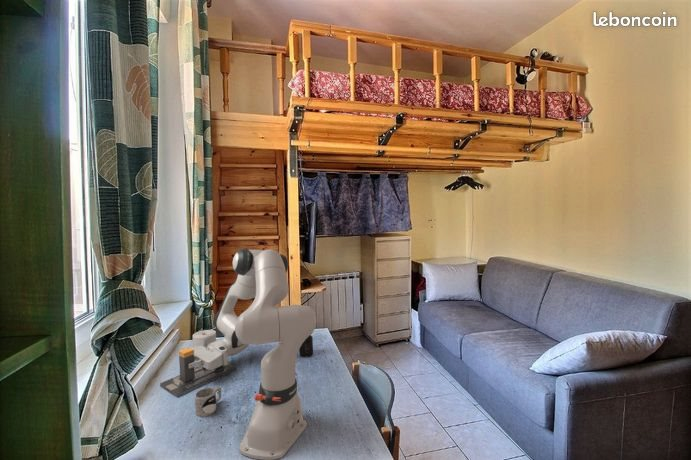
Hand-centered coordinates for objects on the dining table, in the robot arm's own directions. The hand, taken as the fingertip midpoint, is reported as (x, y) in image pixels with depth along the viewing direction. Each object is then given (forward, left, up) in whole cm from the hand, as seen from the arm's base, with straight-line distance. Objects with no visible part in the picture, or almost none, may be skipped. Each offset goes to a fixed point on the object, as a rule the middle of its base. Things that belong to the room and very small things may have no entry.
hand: (184, 364), depth 127 cm
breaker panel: (+6, -2, -8) cm, 10 cm away
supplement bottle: (+35, -40, -9) cm, 54 cm away
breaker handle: (+1, 0, -7) cm, 7 cm away
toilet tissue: (+27, +10, -9) cm, 30 cm away
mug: (-12, -20, -9) cm, 25 cm away
